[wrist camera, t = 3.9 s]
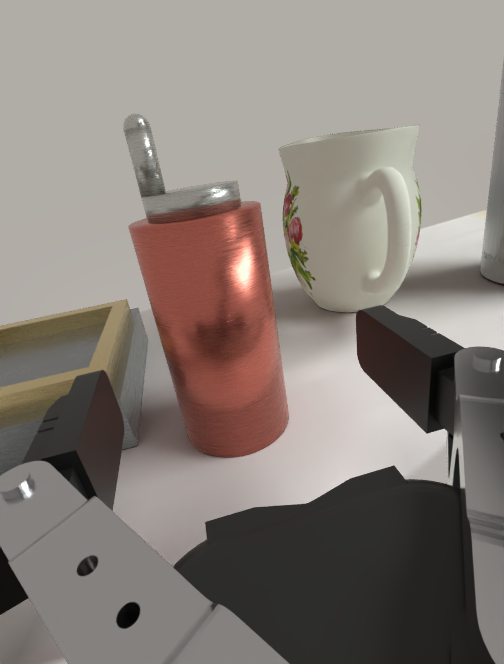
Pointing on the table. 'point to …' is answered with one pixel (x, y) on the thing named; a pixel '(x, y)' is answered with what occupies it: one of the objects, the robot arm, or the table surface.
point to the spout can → (210, 304)
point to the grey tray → (67, 369)
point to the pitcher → (352, 215)
